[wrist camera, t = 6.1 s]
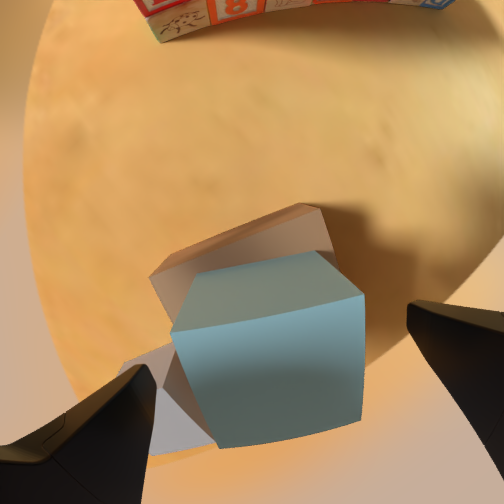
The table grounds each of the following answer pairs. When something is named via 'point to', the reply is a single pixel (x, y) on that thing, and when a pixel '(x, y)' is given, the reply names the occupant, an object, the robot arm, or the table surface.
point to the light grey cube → (173, 404)
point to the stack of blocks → (228, 12)
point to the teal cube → (273, 349)
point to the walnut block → (243, 250)
